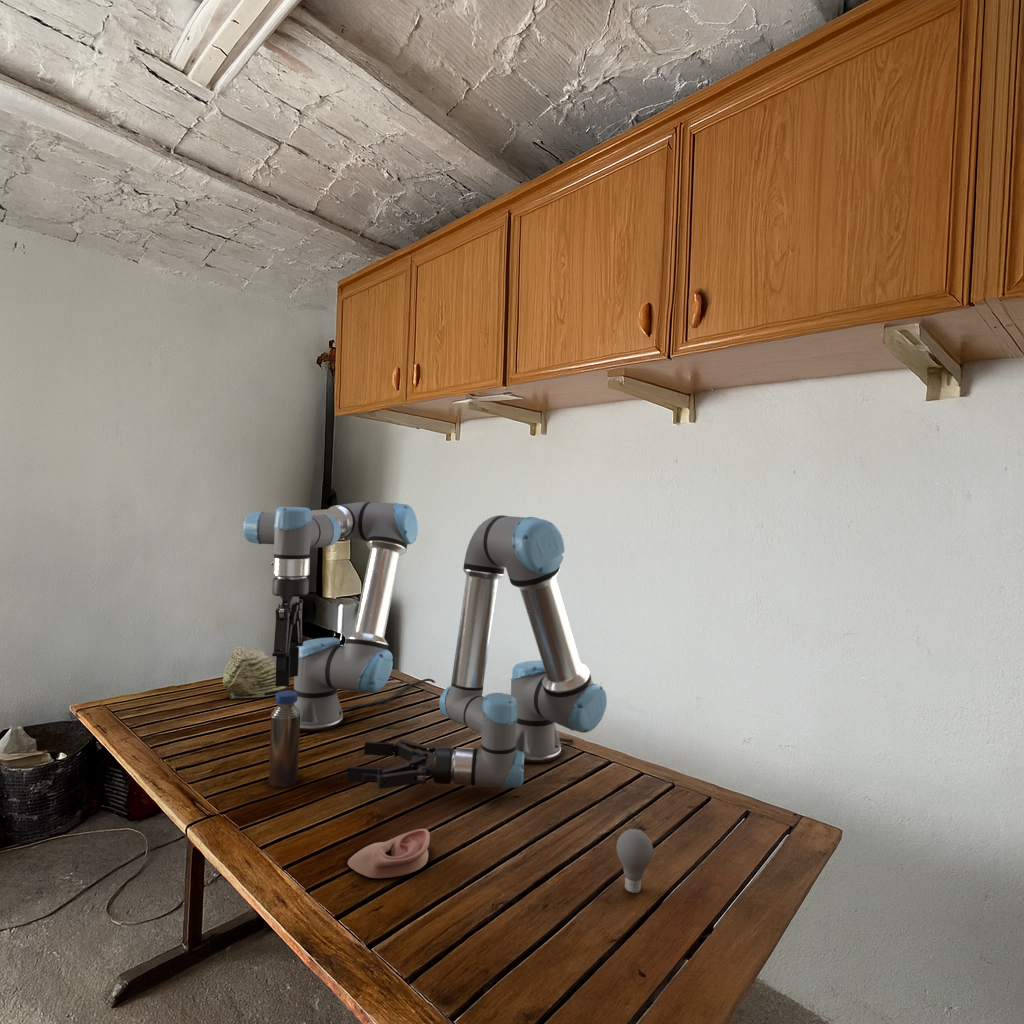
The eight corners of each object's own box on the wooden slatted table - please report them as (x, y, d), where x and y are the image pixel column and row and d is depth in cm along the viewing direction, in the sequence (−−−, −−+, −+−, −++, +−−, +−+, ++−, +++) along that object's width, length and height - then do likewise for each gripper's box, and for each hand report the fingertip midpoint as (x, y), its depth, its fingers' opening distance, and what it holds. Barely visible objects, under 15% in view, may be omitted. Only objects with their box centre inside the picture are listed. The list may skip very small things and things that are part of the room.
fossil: (218, 695, 195) (220, 647, 195) (278, 685, 208) (279, 640, 207) (228, 703, 189) (230, 653, 188) (289, 692, 201) (290, 645, 201)
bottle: (303, 781, 140) (306, 695, 140) (276, 790, 136) (279, 701, 135) (289, 772, 144) (292, 689, 144) (263, 780, 140) (266, 694, 140)
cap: (301, 701, 140) (301, 694, 140) (281, 706, 137) (281, 698, 137) (291, 696, 143) (291, 689, 143) (271, 700, 140) (271, 692, 140)
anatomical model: (339, 849, 107) (368, 816, 118) (339, 872, 107) (367, 837, 118) (414, 862, 104) (436, 827, 115) (413, 885, 104) (435, 848, 116)
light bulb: (610, 879, 108) (613, 822, 108) (644, 879, 109) (647, 822, 109) (619, 902, 102) (622, 840, 102) (655, 901, 103) (658, 840, 103)
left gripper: (285, 571, 149) (281, 668, 149) (259, 582, 129) (255, 694, 129) (318, 572, 150) (314, 668, 150) (297, 583, 130) (292, 694, 130)
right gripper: (444, 811, 125) (338, 804, 126) (459, 759, 150) (370, 754, 151) (445, 773, 125) (339, 767, 126) (460, 728, 150) (372, 723, 151)
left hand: (287, 680), depth 140 cm, fingers open, 7 cm apart
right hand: (356, 760), depth 138 cm, fingers open, 13 cm apart
